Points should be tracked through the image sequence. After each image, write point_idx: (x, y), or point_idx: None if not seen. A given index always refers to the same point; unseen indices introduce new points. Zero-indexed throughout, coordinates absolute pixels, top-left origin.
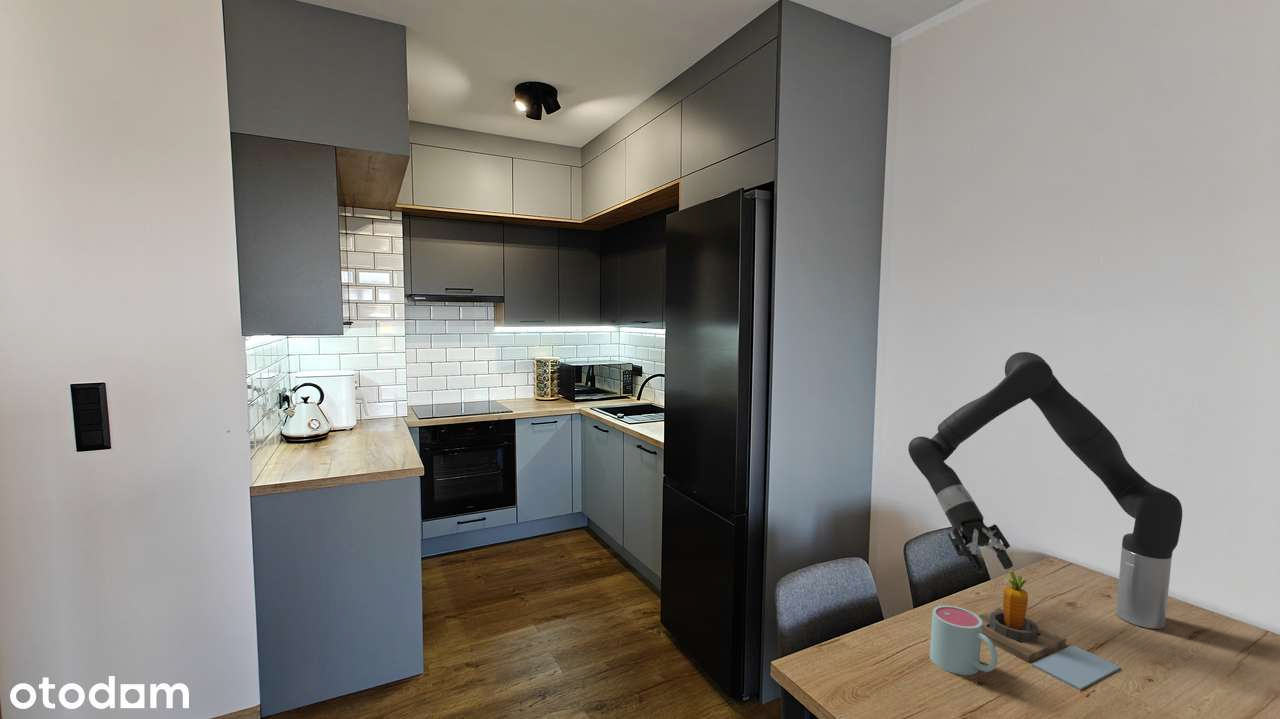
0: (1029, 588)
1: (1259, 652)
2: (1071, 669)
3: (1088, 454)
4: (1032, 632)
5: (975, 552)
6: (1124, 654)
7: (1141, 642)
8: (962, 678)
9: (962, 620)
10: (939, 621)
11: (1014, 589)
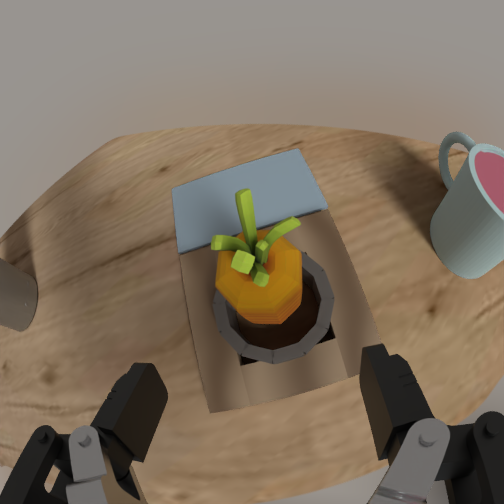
0: None
1: (19, 221)
2: (264, 185)
3: None
4: None
5: (406, 439)
6: (123, 224)
7: (71, 251)
8: None
9: (501, 173)
10: None
11: (267, 258)
